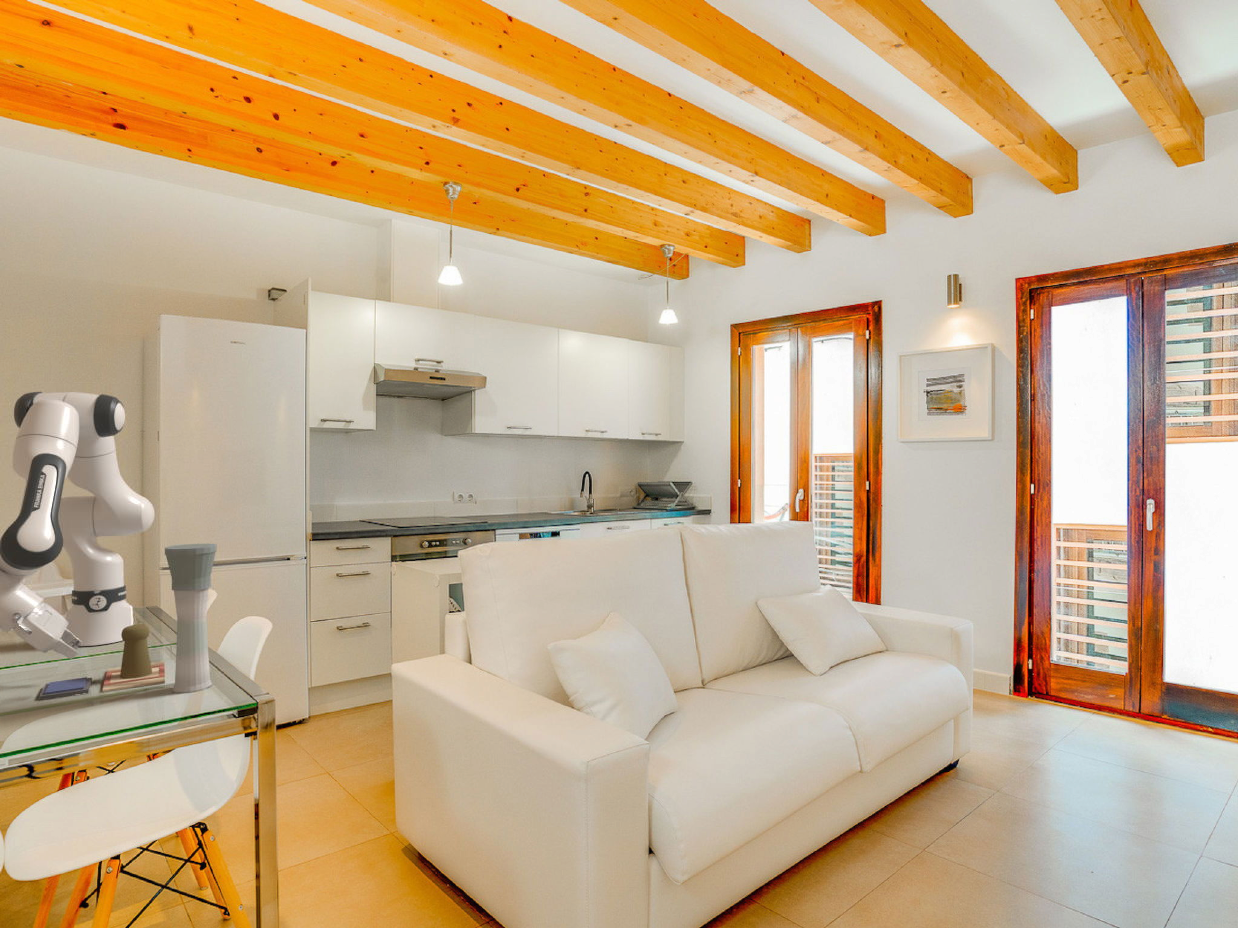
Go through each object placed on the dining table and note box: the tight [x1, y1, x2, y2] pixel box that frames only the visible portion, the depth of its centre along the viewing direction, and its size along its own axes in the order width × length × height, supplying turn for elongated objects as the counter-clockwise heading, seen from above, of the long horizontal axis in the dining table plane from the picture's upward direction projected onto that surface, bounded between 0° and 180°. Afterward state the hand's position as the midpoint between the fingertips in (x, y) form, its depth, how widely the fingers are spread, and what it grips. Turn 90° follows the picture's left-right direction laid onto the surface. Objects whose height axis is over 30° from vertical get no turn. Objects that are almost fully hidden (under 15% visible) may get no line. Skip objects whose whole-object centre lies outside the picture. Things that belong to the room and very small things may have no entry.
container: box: [164, 543, 217, 694], centre depth 153 cm, size 10×10×30 cm
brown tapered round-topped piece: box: [120, 624, 152, 679], centre depth 162 cm, size 6×6×11 cm
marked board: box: [102, 661, 166, 693], centre depth 161 cm, size 18×11×1 cm, turn 32°
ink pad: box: [38, 676, 93, 701], centre depth 152 cm, size 10×8×1 cm
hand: (77, 650), depth 156 cm, fingers open, 8 cm apart
